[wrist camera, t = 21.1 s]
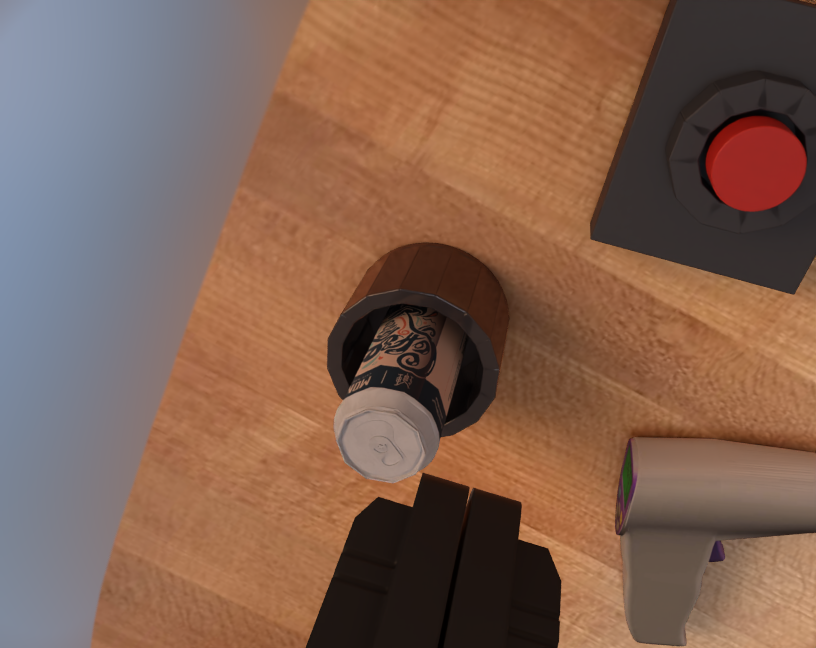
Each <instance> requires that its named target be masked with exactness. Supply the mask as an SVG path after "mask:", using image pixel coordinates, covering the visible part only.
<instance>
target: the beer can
mask: <svg viewBox="0 0 816 648" xmlns="http://www.w3.org/2000/svg"><path fill="white" fill-rule="evenodd" d="M468 337H469V336H468V335H467V334H466V333H465V332H464V330H463V329H462V328H461V327H460V326H459V325H458V323H457V322H455V321H453V320H451V319H450V318H448V317H446V316H444V315H442V314H441V313H439V312H437V311H435V310H433V309H431V308H427V307H421V306H414V305H408V304H397V305H392V306H389V309H388V311H387V313H386V315H385V317H384V319H383V321H382V323H381V325H380V327H379V329H378V331H377V333H376V335H375V337H374V340H373V342H372V344H371V346H370V348H369V350H368V352H367V354H366V356H365V358H364V360H363V362H362V364H361V366H360V368H359V370H358V372H357V374H356V376H355V378H354V380H353V382H352V384H351V386H350V388H349V390H348V392H347V394H346V396H345V398H344V400H343V401H342V403H341V404H340V406H339V407H338V409H337V411H336V415H335V418H334V432H335V436H336V441H337V444H338V446H339V449H340V452H341V454H342V457H343V459H344V462H345V463H346V464H347V465H349V466H350V467H351V468H353V469H354V470H355V471H357V472H358V473H359V474H361V475H362V476H363V477H365V478H366V479H371V480H377V481H383V482H389V483H395V482H398V481H400V480H403V479H405V478H408V477H410V476H413V475H416V473H417V472H418V471H420V470H422V469H424V468H425V467H426V466H427V465H428V464H429V463H430V462H431V461H432V460H433V458H434V456H435V454H436V452H437V450H438V447H439V442H440V438H441V434H442V431H443V427H444V423H445V420H446V416H447V413H448V409H449V405H450V402H451V398H452V395H453V391H454V387H455V384H456V380H457V377H458V373H459V369H460V366H461V362H462V359H463V355H464V352H465V348H466V344H467V341H468Z"/></svg>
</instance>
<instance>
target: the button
mask: <svg viewBox="0 0 816 648" xmlns="http://www.w3.org/2000/svg"><path fill="white" fill-rule="evenodd" d="M806 167H807V157H806V152H805V149H804V147H803V145H802V143H801V142H800V141H799V139H798V138H797V137H796V136H795V135H794V134H793V132H792V131H791V130H790V129H789V128H788V127H787V126H786V125H785V124H783V123H782V122H780V121H778V120H776V119H774V118H771V117H766V116H750V117H745V118H742V119H739V120H736V121H734V122H732V123H731V124H729V125H727V126H726V127H725V128H723V129H722V130H721V131H720V132H719V133H718V134H717V135H716V137H715V138H714V139H713V141H712V142H711V144H710V146H709V149H708V152H707V155H706V171H707V175H708V177H709V180H710V182H711V184H712V187H713V189H714V191H715V193H716V194H717V196H718V197H719V198H720V199H721V200H722V201H723V202H724V203H725V204H727V205H728V206H730V207H732V208H734V209H737V210H741V211H749V212H755V211H763V210H767V209H770V208H773V207H775V206H777V205H779V204H781V203H782V202H784V201H785V200H787V199H788V198H789V197H790V196H791V195H792V194H793V193H794V192H795V191H796V190H797V189H798V187H799V186H800V184H801V182H802V180H803V178H804V176H805V172H806Z"/></svg>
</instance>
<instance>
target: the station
mask: <svg viewBox="0 0 816 648" xmlns="http://www.w3.org/2000/svg"><path fill="white" fill-rule="evenodd" d="M750 116H766V117H771V118H774V119H776V120H778V121H780V122H782V123H783V124H785V125H786V126H787V127H788V128H789V129H790V130H791V131H792V132H793V134H794V135H795V136H796V137H797V138H798V139H799V141H800V142H801V143H802V145H803V147H804V149H805V152H806V157H807V167H806V172H805V176H804V178H803V180H802V182H801V184H800V186H799V187H798V189H797V190H796V191H795V192H794V193H793V194H792V195H791V196H790V197H789V198H788V199H787V200H785V201H784V202H782V203H781V204H779V205H777V206H775V207H773V208H770V209H767V210H763V211H755V212H749V211H741V210H737V209H734V208H732V207H730V206H728V205H727V204H725V203H724V202H723V201H722V200H721V199H720V198H719V197H718V196H717V194H716V193H715V191H714V189H713V187H712V184H711V182H710V180H709V177H708V175H707V171H706V155H707V152H708V149H709V146H710V144H711V142H712V141H713V139H714V138H715V137H716V135H717V134H718V133H719V132H720V131H721V130H722V129H723V128H725V127H726V126H727V125H729V124H731V123H732V122H734V121H736V120H739V119H742V118H745V117H750ZM590 236H591V240H595V241H599V242H602V243H606V244H610V245H613V246H617V247H621V248H624V249H628V250H632V251H635V252H639V253H643V254H646V255H650V256H654V257H657V258H661V259H665V260H668V261H672V262H676V263H679V264H683V265H687V266H690V267H694V268H698V269H701V270H705V271H709V272H712V273H716V274H720V275H723V276H727V277H731V278H734V279H738V280H742V281H745V282H749V283H753V284H756V285H760V286H764V287H767V288H771V289H775V290H778V291H782V292H786V293H789V294H795V292H796V290H797V288H798V287H799V285H800V283H801V281H802V279H803V277H804V276H805V274H806V272H807V270H808V268H809V266H810V265H811V263H812V261H813V259H814V257H815V255H816V5H815V4H811V3H807V2H803V1H799V0H670V2H669V5H668V7H667V10H666V13H665V16H664V19H663V21H662V24H661V27H660V30H659V33H658V35H657V38H656V41H655V44H654V46H653V49H652V52H651V55H650V58H649V60H648V63H647V66H646V69H645V72H644V74H643V77H642V80H641V83H640V86H639V88H638V91H637V94H636V97H635V100H634V102H633V105H632V108H631V111H630V113H629V116H628V119H627V122H626V125H625V127H624V130H623V133H622V136H621V139H620V141H619V144H618V147H617V150H616V153H615V155H614V158H613V161H612V164H611V167H610V169H609V172H608V175H607V178H606V180H605V183H604V186H603V189H602V192H601V194H600V197H599V200H598V203H597V206H596V208H595V211H594V214H593V217H592V220H591V222H590Z"/></svg>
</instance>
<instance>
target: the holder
mask: <svg viewBox="0 0 816 648" xmlns="http://www.w3.org/2000/svg"><path fill="white" fill-rule="evenodd" d="M397 304H408V305H414V306H421V307H427V308H431V309H433V310H435V311H437V312H439V313H441V314H442V315H444V316H446V317H448V318H450V319H451V320H453V321H455V322H457V323H458V325H459V326H460V327H461V328H462V329H463V330H464V332H465V333H466V334H467V335H468V336H469V337H468V341H467V344H466V348H465V352H464V355H463V359H462V362H461V366H460V369H459V373H458V377H457V380H456V384H455V387H454V391H453V395H452V398H451V402H450V405H449V409H448V413H447V416H446V420H445V423H444V427H443V431H442V434H441V437H446V436H451V435H454V434H456V433H458V432H460V431H461V430H463V429H465V428H467V427H469V426H470V425H472V424H474V423H476V422H477V421H478V420H479V419H480V418H481V416H482V415H483V414H484V412H485V411H486V410H487V408H488V407H489V405H490V404H491V403H492V401H493V400H494V398H495V396H496V391H497V385H498V380H499V375H500V369H501V364H502V359H503V354H504V348H505V343H506V337H507V331H508V324H509V310H508V304H507V300H506V297H505V294H504V292H503V289H502V287H501V286H500V284H499V282H498V280H497V279H496V278H495V276H494V275H493V274H492V272H491V271H490V270H489V269H488V268H487V267H486V266H485V265H484V264H482V263H481V262H480V261H479V260H478V259H476V258H474V257H473V256H471V255H470V254H468V253H466V252H464V251H462V250H460V249H457V248H454V247H451V246H448V245H443V244H438V243H415V244H409V245H405V246H402V247H399V248H396V249H394V250H392V251H390V252H388V253H387V254H385V255H384V256H382V257H381V258H380V259H378V260H377V261H376V262H375V263H374V264H373V265H372V266H371V267H370V268H369V269H368V270H367V272H366V274H365V275H364V277H363V278H362V280H361V282H360V283H359V285H358V287H357V288H356V290H355V292H354V293H353V295H352V297H351V298H350V300H349V302H348V303H347V305H346V307H345V308H344V310H343V311H342V313H341V315H340V317H339V319H338V320H337V322H336V324H335V326H334V328H333V330H332V332H331V334H330V336H329V337H328V350H327V369H328V371H329V374H330V376H331V378H332V381H333V383H334V386H335V388H336V390H337V393H338V395H339V397H340V398H341V399H342V400H344V398H345V396H346V394H347V392H348V390H349V388H350V386H351V384H352V382H353V380H354V378H355V376H356V374H357V372H358V370H359V368H360V366H361V364H362V362H363V360H364V358H365V356H366V354H367V352H368V350H369V348H370V346H371V344H372V342H373V340H374V337H375V335H376V333H377V331H378V329H379V327H380V325H381V323H382V321H383V319H384V317H385V315H386V313H387V311H388V309H389V306H392V305H397Z"/></svg>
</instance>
